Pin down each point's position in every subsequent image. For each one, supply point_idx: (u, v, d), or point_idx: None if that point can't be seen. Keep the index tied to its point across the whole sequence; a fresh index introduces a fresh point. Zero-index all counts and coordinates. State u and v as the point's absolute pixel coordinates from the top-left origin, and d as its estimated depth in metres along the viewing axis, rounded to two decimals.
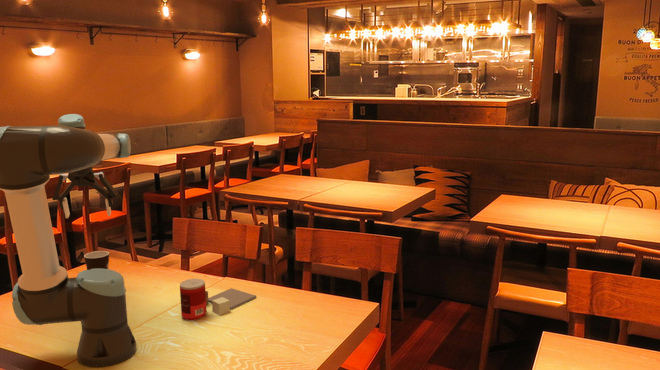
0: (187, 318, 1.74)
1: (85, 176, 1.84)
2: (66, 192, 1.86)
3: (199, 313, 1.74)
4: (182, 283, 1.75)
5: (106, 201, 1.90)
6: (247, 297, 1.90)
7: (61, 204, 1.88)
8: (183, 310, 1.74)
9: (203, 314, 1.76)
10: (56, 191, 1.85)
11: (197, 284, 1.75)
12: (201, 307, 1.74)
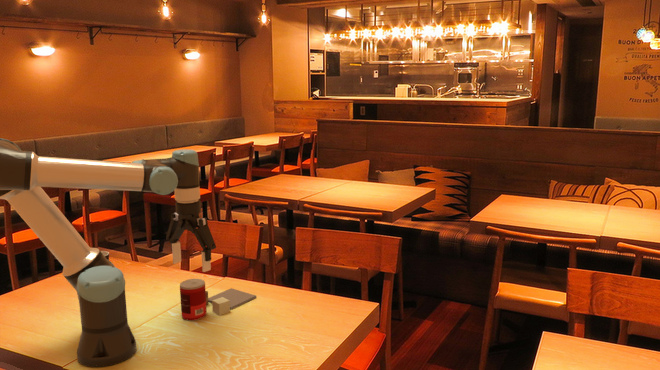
0: (187, 318, 1.74)
1: (189, 218, 1.70)
2: (175, 233, 1.74)
3: (199, 313, 1.74)
4: (182, 283, 1.75)
5: (202, 253, 1.68)
6: (247, 297, 1.90)
7: None
8: (183, 310, 1.74)
9: (203, 314, 1.76)
10: (169, 230, 1.76)
11: (197, 284, 1.75)
12: (201, 307, 1.74)
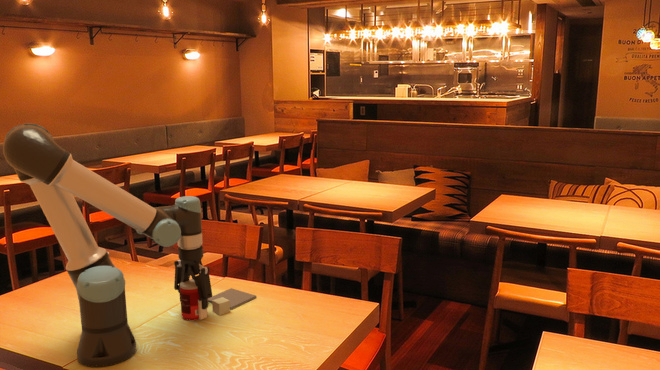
0: (187, 318, 1.74)
1: (192, 263, 1.72)
2: (181, 281, 1.77)
3: None
4: (182, 283, 1.75)
5: (199, 301, 1.73)
6: (247, 297, 1.90)
7: None
8: (183, 310, 1.74)
9: None
10: (175, 279, 1.78)
11: None
12: None
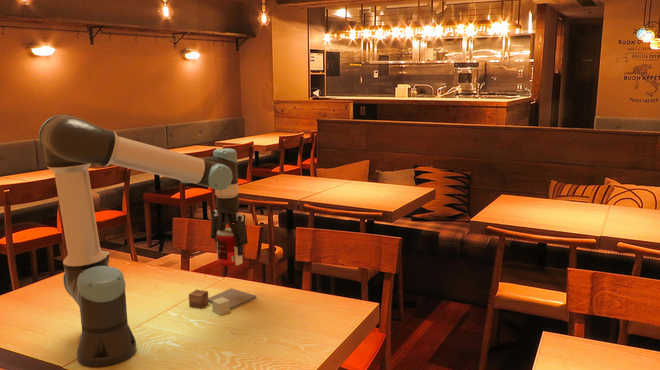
0: (224, 264, 1.84)
1: (228, 211, 1.82)
2: None
3: None
4: (219, 231, 1.85)
5: (235, 248, 1.83)
6: (247, 297, 1.90)
7: (216, 245, 1.89)
8: (220, 256, 1.84)
9: None
10: (212, 228, 1.88)
11: None
12: None
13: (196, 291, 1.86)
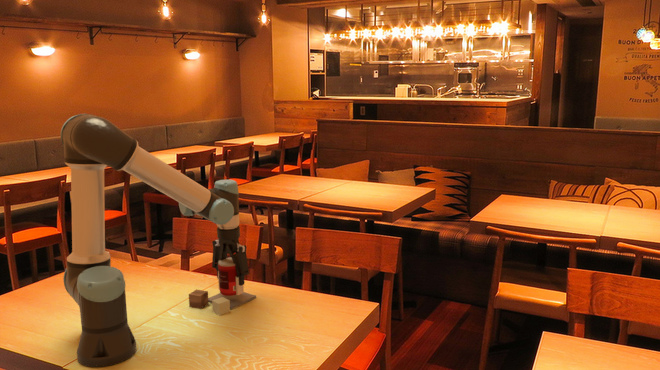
0: (225, 293, 1.86)
1: (230, 242, 1.84)
2: None
3: None
4: (220, 261, 1.87)
5: (236, 278, 1.85)
6: (247, 297, 1.90)
7: None
8: (221, 286, 1.86)
9: None
10: (213, 258, 1.90)
11: None
12: None
13: (196, 291, 1.86)
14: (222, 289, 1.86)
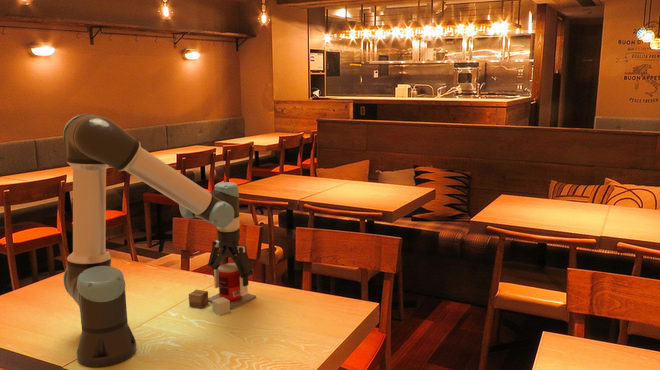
0: None
1: (229, 245, 1.84)
2: (216, 260, 1.89)
3: (236, 294, 1.86)
4: (220, 267, 1.88)
5: (240, 278, 1.84)
6: (247, 297, 1.90)
7: (214, 272, 1.92)
8: (221, 292, 1.86)
9: (240, 296, 1.88)
10: (210, 257, 1.91)
11: (234, 267, 1.87)
12: (238, 288, 1.87)
13: (196, 291, 1.86)
14: (222, 295, 1.86)
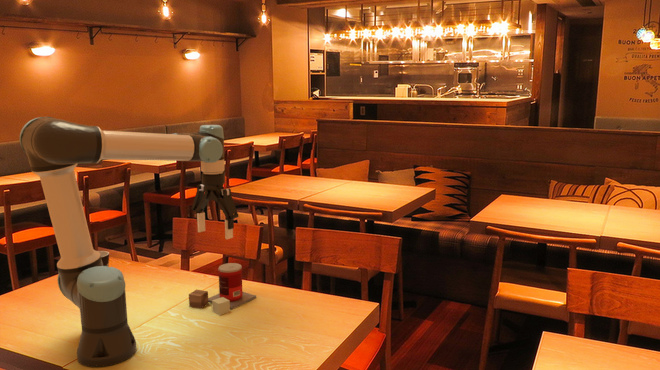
0: None
1: (214, 189, 1.82)
2: (200, 203, 1.87)
3: (236, 294, 1.86)
4: (220, 267, 1.88)
5: (225, 221, 1.80)
6: (247, 297, 1.90)
7: (197, 216, 1.90)
8: (221, 292, 1.86)
9: (240, 296, 1.88)
10: (194, 201, 1.89)
11: (234, 268, 1.87)
12: (238, 289, 1.87)
13: (196, 291, 1.86)
14: (222, 295, 1.86)
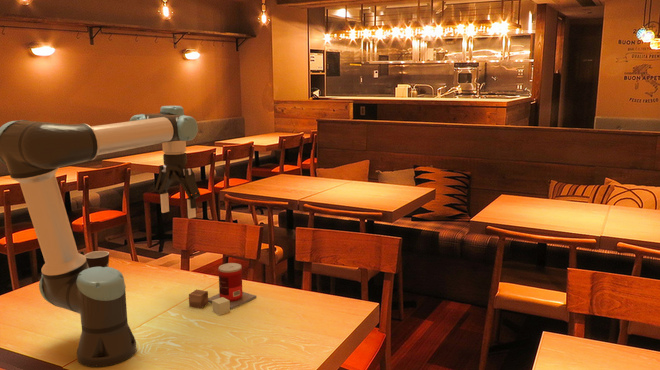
0: None
1: (176, 169, 1.84)
2: (163, 184, 1.89)
3: (236, 294, 1.86)
4: (220, 267, 1.88)
5: (187, 200, 1.83)
6: (247, 297, 1.90)
7: (160, 197, 1.92)
8: (221, 292, 1.86)
9: (240, 296, 1.88)
10: (157, 182, 1.91)
11: (234, 268, 1.87)
12: (238, 289, 1.87)
13: (196, 291, 1.86)
14: (222, 295, 1.86)
